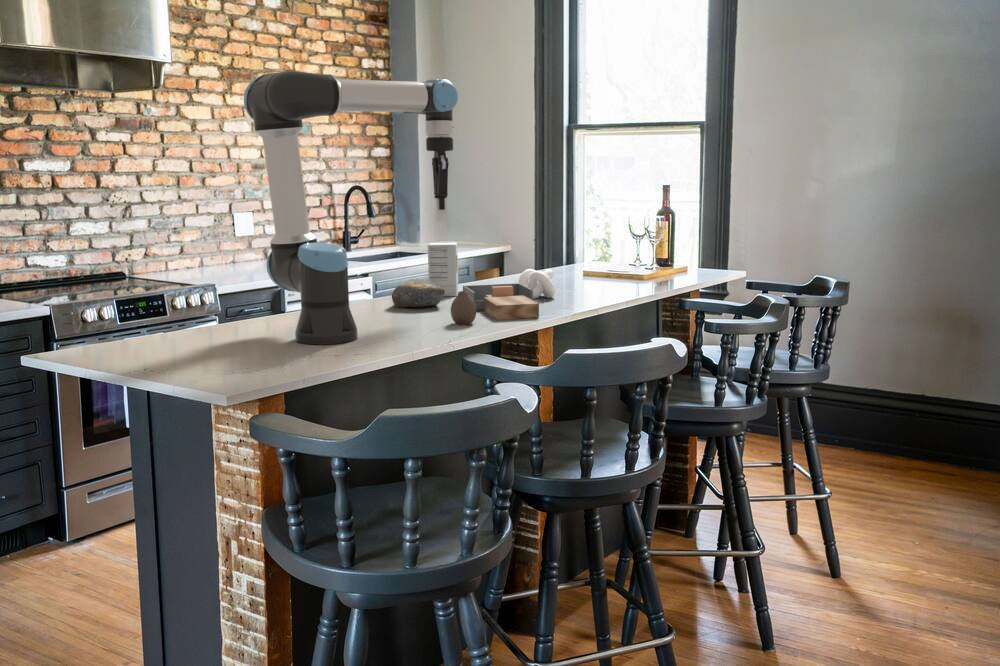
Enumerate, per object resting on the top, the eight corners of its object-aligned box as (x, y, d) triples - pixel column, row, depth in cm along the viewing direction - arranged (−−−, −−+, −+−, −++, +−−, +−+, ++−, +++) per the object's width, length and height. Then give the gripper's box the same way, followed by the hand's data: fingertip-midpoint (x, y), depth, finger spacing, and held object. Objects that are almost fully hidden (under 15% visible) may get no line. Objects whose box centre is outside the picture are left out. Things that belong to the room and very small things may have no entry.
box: (473, 311, 266) (473, 292, 265) (463, 303, 281) (462, 285, 280) (533, 308, 270) (532, 289, 269) (519, 300, 285) (519, 283, 284)
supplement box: (457, 296, 296) (456, 244, 293) (428, 296, 296) (427, 244, 293) (458, 292, 305) (457, 241, 302) (431, 292, 305) (429, 242, 302)
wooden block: (497, 319, 251) (496, 305, 250) (484, 310, 266) (483, 297, 266) (538, 317, 254) (538, 303, 253) (523, 308, 269) (523, 295, 269)
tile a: (493, 287, 268) (491, 286, 270) (493, 307, 269) (491, 306, 271) (513, 286, 269) (511, 285, 272) (513, 306, 270) (511, 305, 273)
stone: (411, 301, 287) (411, 276, 286) (456, 306, 276) (456, 280, 275) (379, 307, 276) (378, 280, 275) (425, 312, 265) (424, 285, 264)
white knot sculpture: (566, 298, 290) (566, 270, 288) (535, 301, 283) (535, 273, 281) (544, 294, 299) (544, 266, 297) (514, 297, 292) (514, 269, 291)
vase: (473, 326, 242) (472, 293, 240) (448, 325, 243) (447, 293, 242) (479, 321, 249) (478, 290, 247) (454, 321, 250) (453, 289, 248)
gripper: (457, 135, 251) (458, 222, 255) (448, 137, 263) (450, 219, 268) (430, 136, 249) (432, 223, 253) (422, 137, 262) (424, 220, 266)
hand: (441, 221), depth 260 cm, fingers closed
